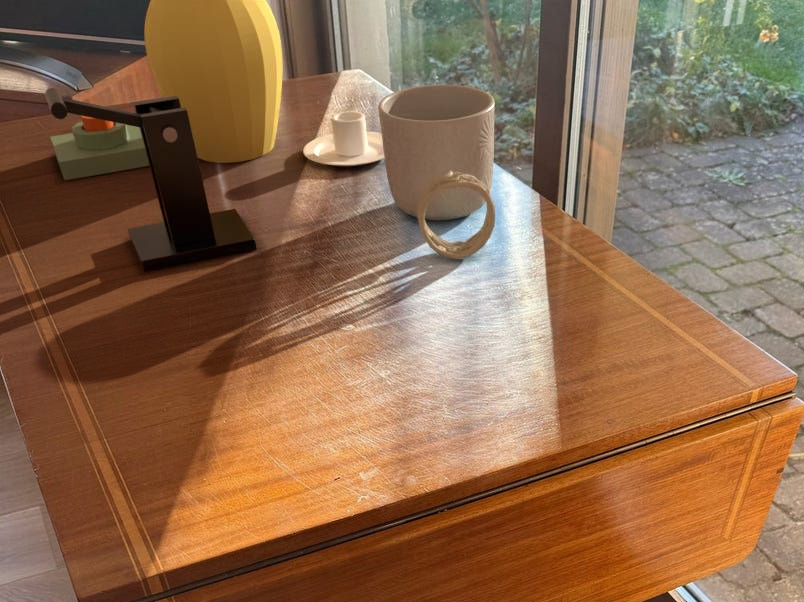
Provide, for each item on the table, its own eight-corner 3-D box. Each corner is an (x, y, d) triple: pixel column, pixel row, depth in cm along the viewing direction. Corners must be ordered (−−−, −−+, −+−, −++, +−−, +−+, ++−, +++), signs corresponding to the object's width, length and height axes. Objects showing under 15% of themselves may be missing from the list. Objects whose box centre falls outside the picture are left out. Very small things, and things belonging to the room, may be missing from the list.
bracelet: (497, 258, 102) (496, 178, 96) (421, 263, 102) (415, 184, 96) (493, 241, 105) (491, 163, 99) (419, 247, 104) (413, 169, 99)
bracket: (144, 272, 102) (104, 130, 92) (130, 239, 108) (91, 102, 98) (257, 249, 105) (230, 109, 95) (237, 219, 111) (210, 84, 101)
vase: (178, 179, 120) (111, -105, 100) (164, 137, 131) (101, -128, 111) (308, 160, 123) (267, -119, 103) (283, 120, 134) (243, -139, 114)
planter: (393, 234, 107) (383, 126, 99) (383, 191, 116) (373, 89, 108) (504, 223, 108) (503, 116, 100) (486, 181, 117) (484, 80, 109)
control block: (64, 180, 121) (53, 146, 118) (55, 154, 127) (44, 121, 124) (162, 163, 124) (154, 129, 121) (148, 139, 130) (140, 106, 127)
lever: (50, 123, 92) (51, 95, 90) (44, 107, 95) (45, 80, 94) (182, 149, 98) (185, 123, 96) (172, 133, 101) (175, 108, 100)
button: (86, 135, 121) (82, 120, 120) (83, 126, 124) (78, 111, 122) (116, 131, 122) (112, 115, 121) (112, 122, 125) (107, 107, 123)
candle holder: (372, 176, 119) (369, 138, 116) (286, 165, 122) (280, 128, 119) (413, 142, 127) (411, 106, 124) (331, 133, 130) (327, 97, 127)
